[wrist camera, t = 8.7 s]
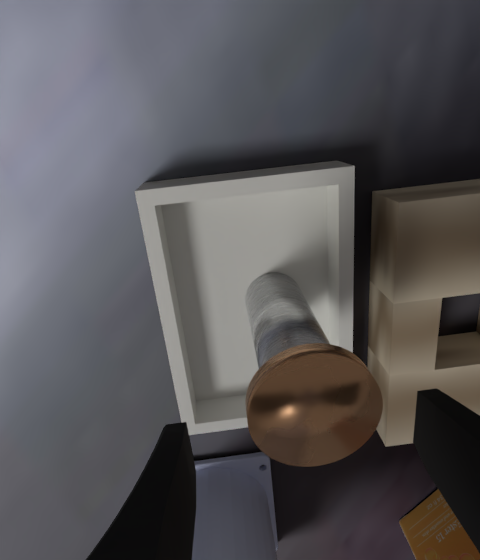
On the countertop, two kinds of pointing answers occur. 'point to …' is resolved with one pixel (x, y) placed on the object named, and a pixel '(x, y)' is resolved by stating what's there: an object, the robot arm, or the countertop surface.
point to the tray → (243, 271)
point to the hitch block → (422, 298)
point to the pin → (304, 381)
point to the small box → (437, 532)
